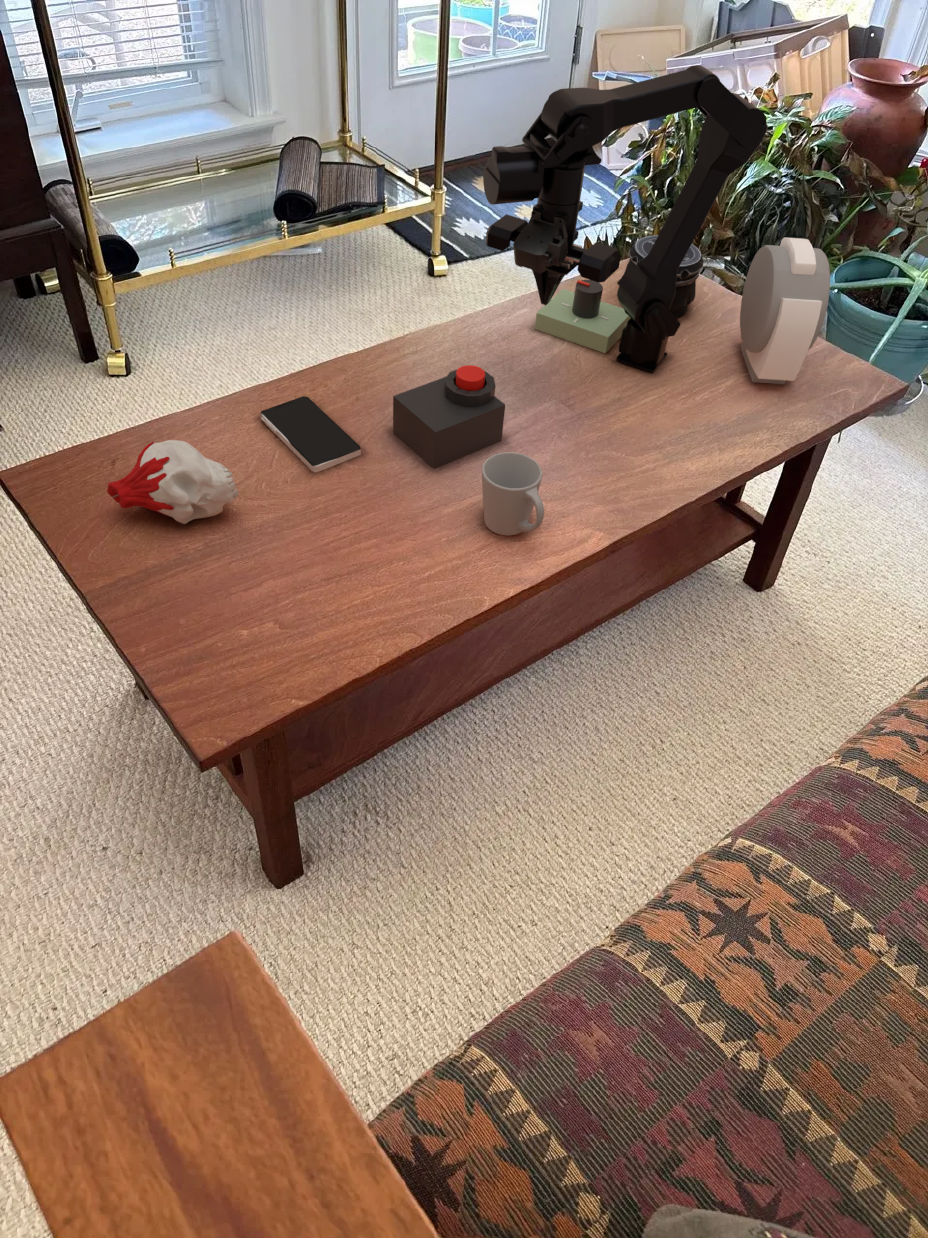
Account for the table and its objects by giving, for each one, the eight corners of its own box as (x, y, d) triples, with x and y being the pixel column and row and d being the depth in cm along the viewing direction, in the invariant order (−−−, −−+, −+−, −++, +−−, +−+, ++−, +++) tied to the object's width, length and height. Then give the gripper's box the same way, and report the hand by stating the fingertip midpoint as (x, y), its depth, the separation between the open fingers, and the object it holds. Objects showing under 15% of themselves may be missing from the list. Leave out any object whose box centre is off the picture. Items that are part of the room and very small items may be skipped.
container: (698, 296, 168) (712, 241, 161) (683, 330, 160) (697, 274, 153) (629, 280, 171) (639, 225, 164) (610, 312, 163) (620, 256, 155)
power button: (472, 372, 134) (473, 361, 132) (490, 386, 132) (491, 375, 130) (449, 381, 132) (450, 370, 131) (467, 395, 130) (467, 384, 128)
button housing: (464, 404, 141) (468, 357, 136) (506, 438, 136) (512, 391, 130) (392, 432, 136) (393, 384, 130) (433, 469, 130) (435, 420, 125)
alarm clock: (799, 398, 148) (845, 275, 133) (745, 394, 148) (785, 271, 133) (776, 337, 160) (815, 219, 145) (726, 334, 160) (760, 215, 145)
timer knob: (602, 310, 157) (607, 282, 154) (591, 321, 154) (596, 293, 151) (579, 302, 158) (583, 274, 155) (567, 313, 156) (571, 285, 152)
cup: (510, 496, 127) (516, 444, 121) (558, 538, 122) (568, 486, 116) (465, 516, 124) (469, 464, 118) (513, 560, 119) (520, 508, 113)
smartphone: (312, 467, 127) (257, 411, 135) (313, 474, 128) (258, 418, 136) (363, 447, 131) (306, 394, 139) (363, 454, 132) (307, 401, 140)
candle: (246, 517, 121) (129, 555, 117) (225, 464, 127) (114, 499, 124) (229, 462, 114) (104, 501, 110) (207, 410, 120) (89, 445, 117)
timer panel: (629, 327, 160) (633, 310, 157) (605, 353, 154) (608, 336, 151) (561, 304, 164) (563, 287, 161) (534, 328, 158) (536, 311, 155)
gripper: (469, 198, 126) (462, 306, 137) (596, 237, 120) (578, 347, 132) (509, 171, 133) (499, 276, 144) (631, 207, 127) (611, 314, 138)
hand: (545, 303), depth 139 cm, fingers closed
